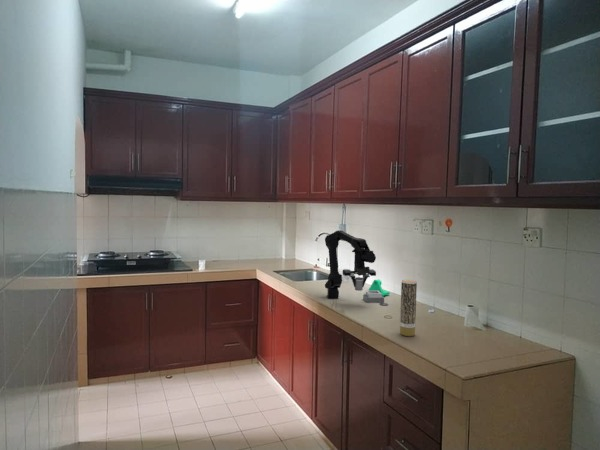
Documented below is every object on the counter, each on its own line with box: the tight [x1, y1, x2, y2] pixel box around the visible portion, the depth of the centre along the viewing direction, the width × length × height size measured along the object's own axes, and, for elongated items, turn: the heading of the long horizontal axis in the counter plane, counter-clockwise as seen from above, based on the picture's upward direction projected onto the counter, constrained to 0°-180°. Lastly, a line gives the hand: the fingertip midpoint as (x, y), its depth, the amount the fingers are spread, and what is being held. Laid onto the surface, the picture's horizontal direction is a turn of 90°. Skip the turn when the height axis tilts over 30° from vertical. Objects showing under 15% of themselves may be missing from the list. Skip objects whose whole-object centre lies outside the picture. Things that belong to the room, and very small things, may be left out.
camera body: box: [362, 290, 385, 304], centre depth 248 cm, size 11×8×6 cm
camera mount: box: [368, 279, 391, 297], centre depth 266 cm, size 12×8×10 cm, turn 35°
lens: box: [354, 276, 364, 292], centre depth 236 cm, size 5×5×7 cm
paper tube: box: [399, 279, 418, 337], centre depth 187 cm, size 7×7×25 cm
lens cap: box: [379, 302, 389, 307], centre depth 240 cm, size 5×5×1 cm
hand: (358, 287), depth 236 cm, fingers closed on lens, 4 cm apart
